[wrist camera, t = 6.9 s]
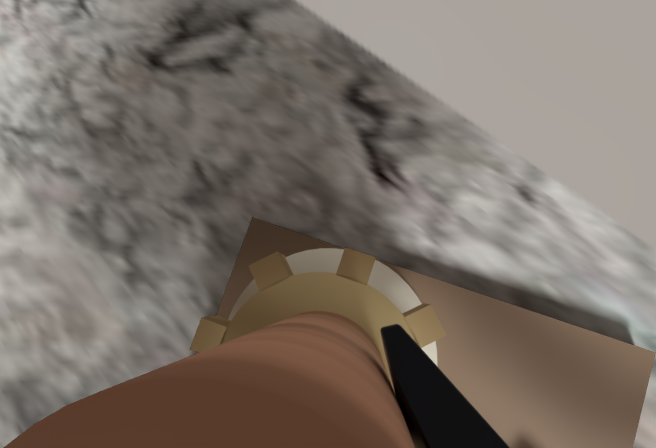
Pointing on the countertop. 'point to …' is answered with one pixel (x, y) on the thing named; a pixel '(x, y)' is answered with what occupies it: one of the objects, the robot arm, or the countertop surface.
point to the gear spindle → (263, 374)
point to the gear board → (490, 350)
